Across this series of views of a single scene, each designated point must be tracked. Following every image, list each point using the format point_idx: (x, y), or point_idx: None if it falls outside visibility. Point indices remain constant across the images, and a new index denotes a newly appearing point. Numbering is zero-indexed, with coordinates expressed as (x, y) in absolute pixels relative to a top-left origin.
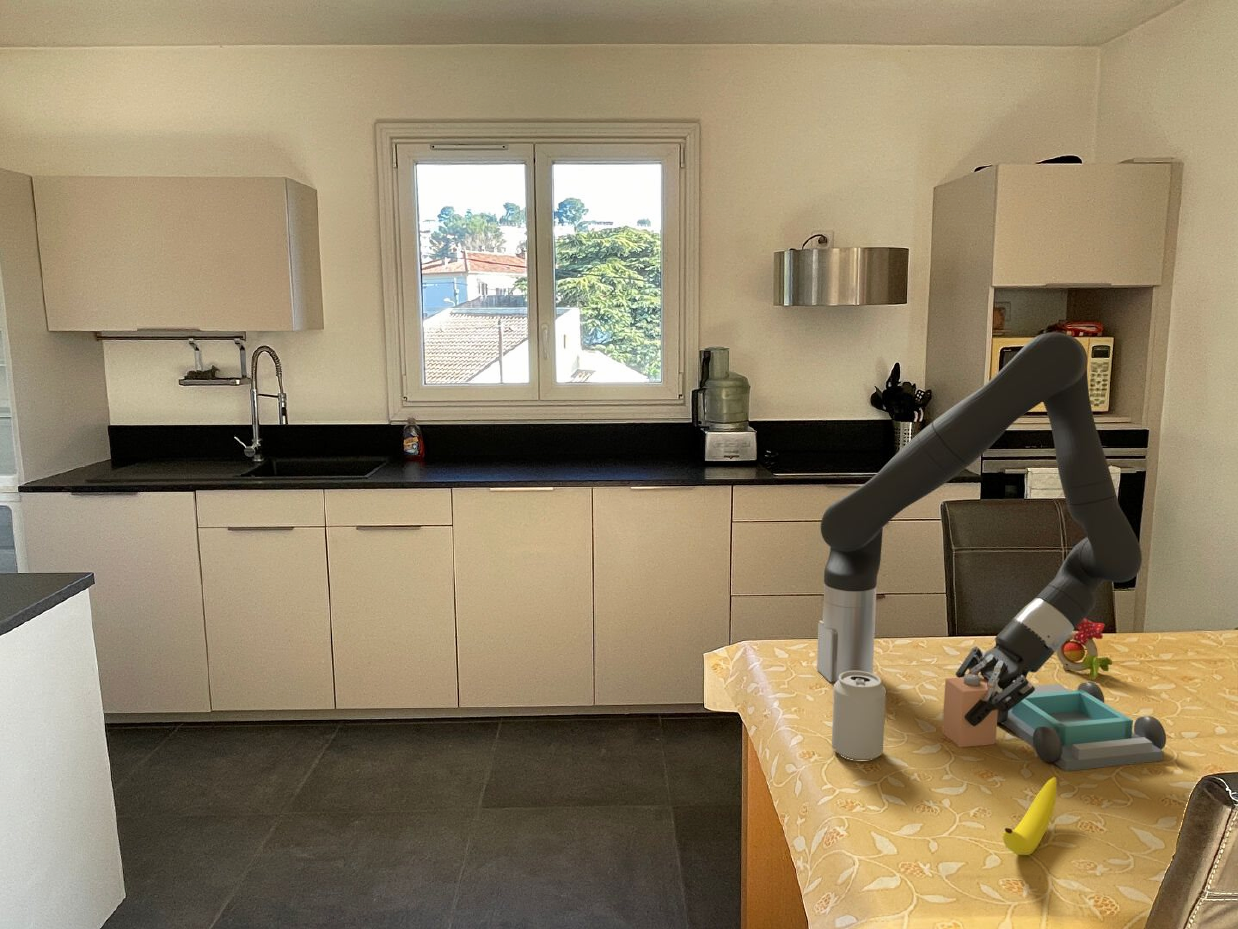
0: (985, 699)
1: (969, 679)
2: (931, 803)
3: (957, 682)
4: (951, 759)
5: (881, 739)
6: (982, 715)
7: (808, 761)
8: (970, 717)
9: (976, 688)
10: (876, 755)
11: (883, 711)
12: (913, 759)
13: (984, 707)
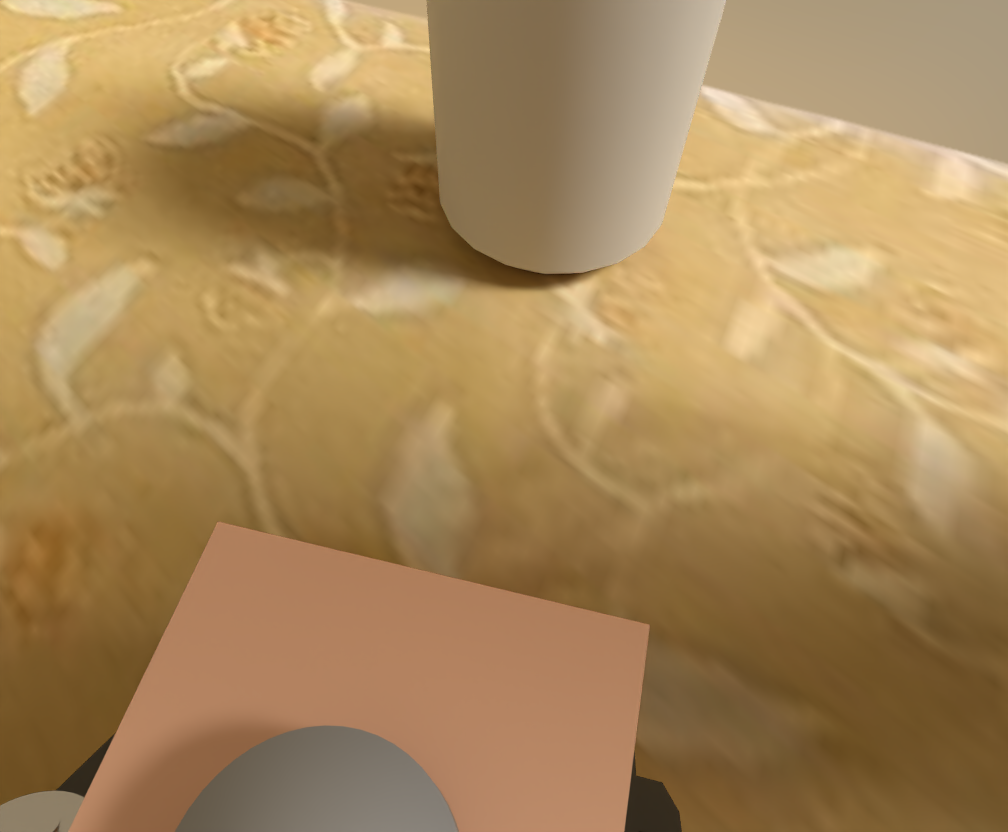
0: (35, 812)
1: (274, 750)
2: (82, 204)
3: (474, 685)
4: (273, 522)
5: (446, 160)
6: None
7: None
8: None
9: (161, 788)
10: (439, 192)
11: (446, 16)
12: (382, 358)
13: (72, 781)
